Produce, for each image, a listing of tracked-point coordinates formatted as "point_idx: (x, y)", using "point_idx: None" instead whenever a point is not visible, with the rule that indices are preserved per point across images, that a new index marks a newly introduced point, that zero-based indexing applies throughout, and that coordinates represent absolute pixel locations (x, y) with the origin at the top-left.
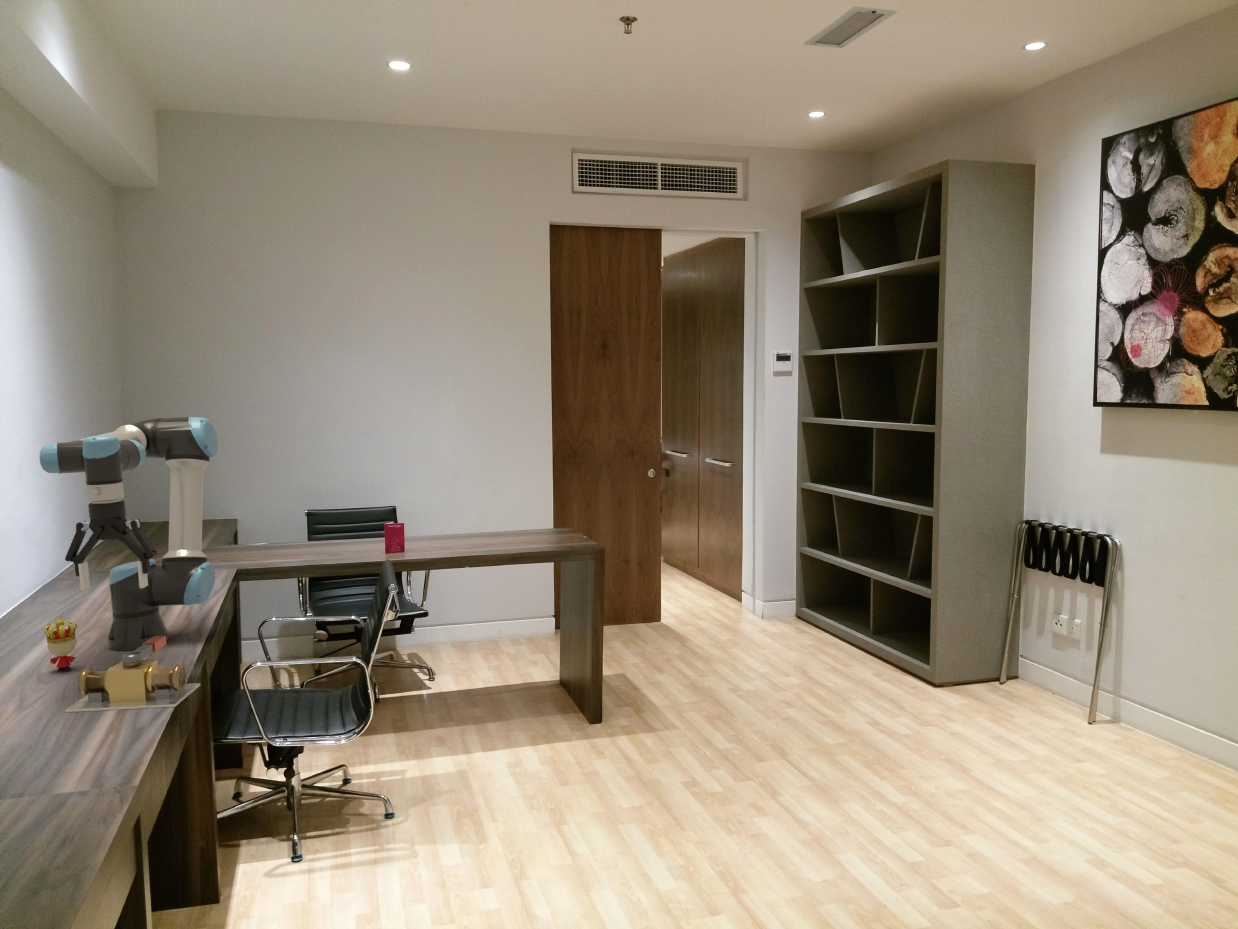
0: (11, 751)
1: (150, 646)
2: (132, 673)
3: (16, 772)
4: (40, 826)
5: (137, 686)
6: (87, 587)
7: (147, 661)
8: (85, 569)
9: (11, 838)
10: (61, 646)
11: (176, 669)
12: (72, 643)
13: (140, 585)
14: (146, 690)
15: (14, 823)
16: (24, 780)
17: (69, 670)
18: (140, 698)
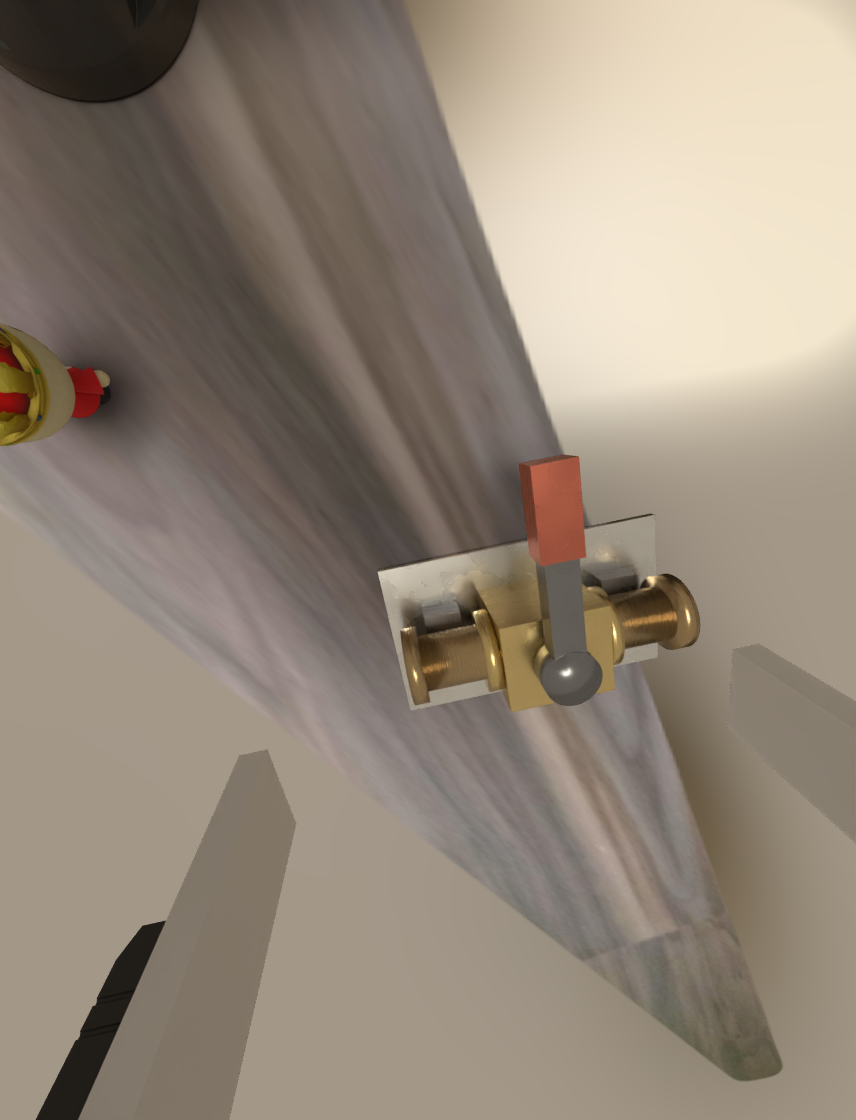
0: (456, 862)
1: (580, 580)
2: None
3: (529, 912)
4: (669, 995)
5: None
6: (276, 792)
7: (589, 627)
8: (210, 1021)
9: (652, 1015)
10: (49, 431)
11: (690, 644)
12: (59, 386)
13: (755, 742)
14: None
15: (633, 996)
16: (562, 926)
17: (109, 393)
18: None
